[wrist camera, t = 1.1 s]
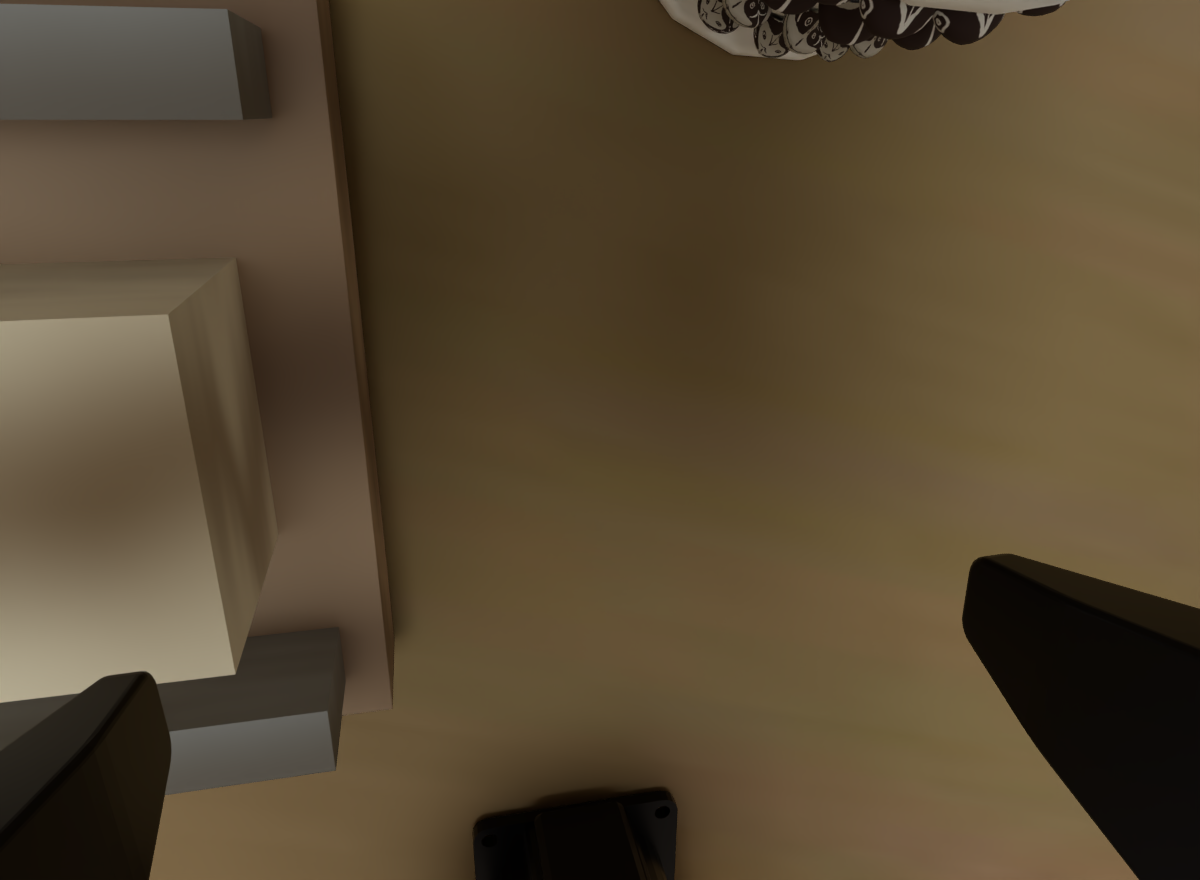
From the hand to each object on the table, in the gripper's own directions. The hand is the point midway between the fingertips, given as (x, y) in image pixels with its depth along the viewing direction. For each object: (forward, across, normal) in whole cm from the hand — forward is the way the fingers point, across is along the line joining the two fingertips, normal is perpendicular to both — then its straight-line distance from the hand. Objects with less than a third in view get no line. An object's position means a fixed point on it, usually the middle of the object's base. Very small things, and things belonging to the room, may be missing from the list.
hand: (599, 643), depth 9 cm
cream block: (+10, +8, 0) cm, 13 cm away
